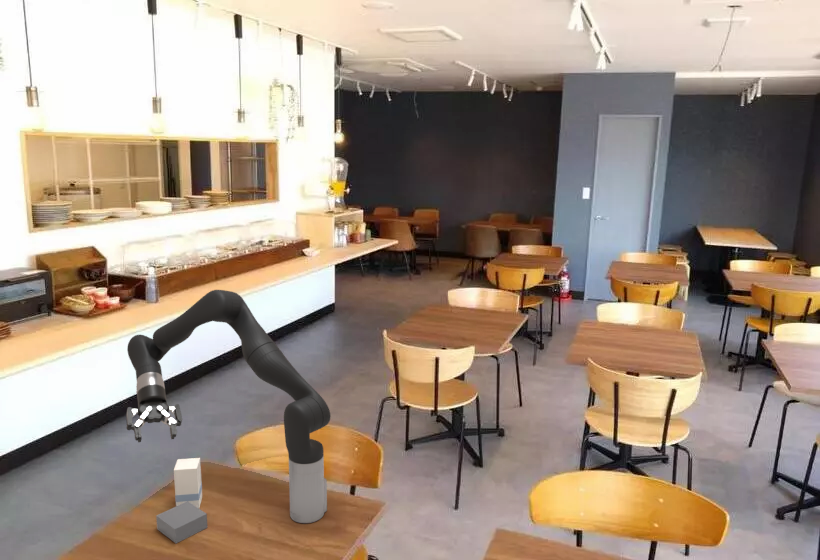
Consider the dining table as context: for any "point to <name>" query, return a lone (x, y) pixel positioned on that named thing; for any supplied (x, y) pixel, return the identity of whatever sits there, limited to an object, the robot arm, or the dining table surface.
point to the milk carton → (188, 481)
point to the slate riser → (181, 522)
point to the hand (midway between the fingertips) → (156, 439)
